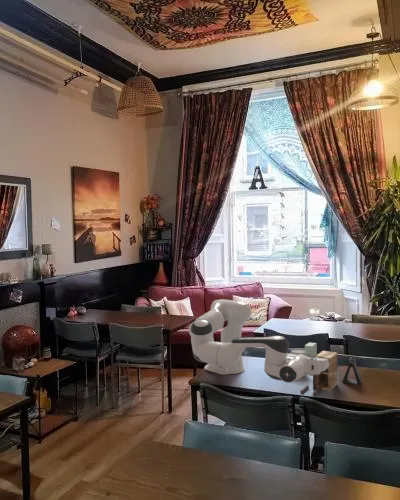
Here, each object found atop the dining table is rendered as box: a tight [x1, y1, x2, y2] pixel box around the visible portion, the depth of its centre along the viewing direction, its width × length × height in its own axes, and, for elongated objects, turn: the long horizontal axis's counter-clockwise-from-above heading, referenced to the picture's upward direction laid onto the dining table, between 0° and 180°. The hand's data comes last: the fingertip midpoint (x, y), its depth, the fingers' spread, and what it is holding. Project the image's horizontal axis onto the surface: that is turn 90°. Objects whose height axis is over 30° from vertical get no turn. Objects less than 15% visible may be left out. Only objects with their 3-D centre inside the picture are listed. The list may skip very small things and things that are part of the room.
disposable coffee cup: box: [289, 348, 305, 355], centre depth 244 cm, size 10×10×12 cm
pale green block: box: [304, 342, 318, 377], centre depth 215 cm, size 4×7×14 cm, turn 146°
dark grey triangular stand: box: [342, 356, 363, 386], centre depth 229 cm, size 9×6×12 cm, turn 66°
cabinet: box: [300, 350, 338, 397], centre depth 220 cm, size 11×21×16 cm, turn 147°
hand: (311, 357), depth 216 cm, fingers closed on pale green block, 3 cm apart
